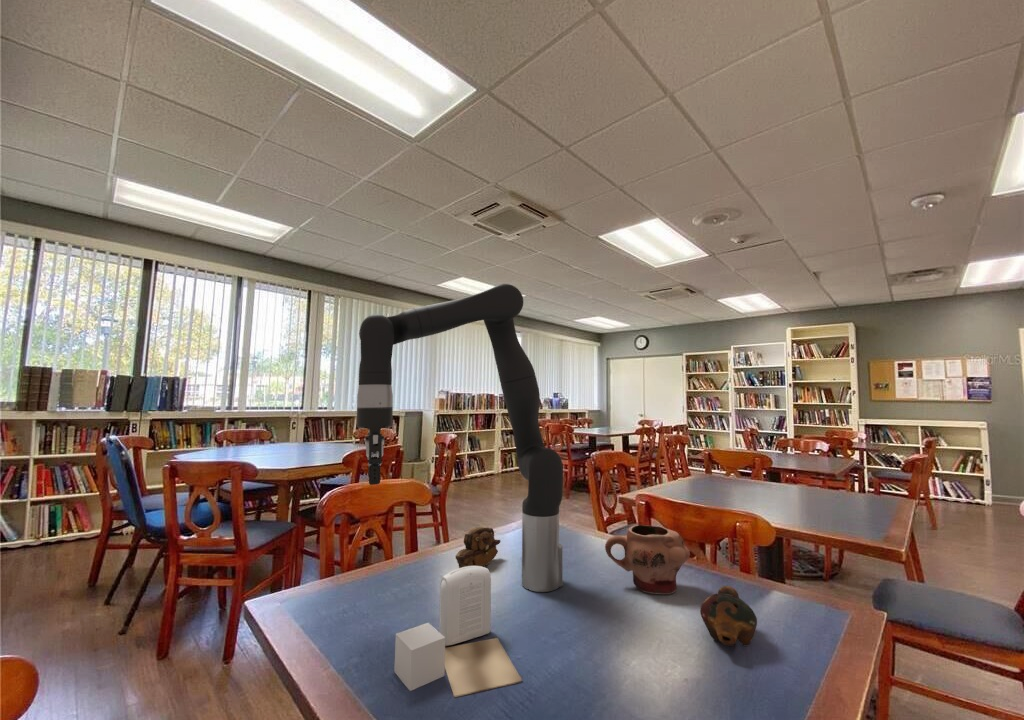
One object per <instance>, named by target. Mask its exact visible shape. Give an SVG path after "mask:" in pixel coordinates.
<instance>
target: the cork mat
mask: <svg viewBox="0 0 1024 720" xmlns="http://www.w3.org/2000/svg"><path fill="white" fill-rule="evenodd" d="M444 671H445V673H446V677H447V679H448V682H449V685H450V688H451V691H452V694H453V695H452V696H453V698H457V697H458V698H459V697H462V696H463V697H464V696H466V695H472V694H475V693H480V692H485V691H488V690H493V689H497V688H502V687H506V686H511V685H514V684H518V683H522V682H523V680H522V677H521V676H520V674H519V673H518V670H517V669H516V667H515V665H514V664H513V662H512V661H511V659H510V657H509V655H508V653H507V652H506V650H505V649H504V647H503V645H502V643H501V642H500V640H499V638H498V637H495V638H489V639H485V640H479V641H473V642H468V643H463V644H458V645H454V646H453V645H451V646H445V666H444Z"/></svg>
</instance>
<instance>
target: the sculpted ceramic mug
mask: <svg viewBox="0 0 1024 720" xmlns="http://www.w3.org/2000/svg"><path fill="white" fill-rule="evenodd" d="M614 545H620V546H622V547H623V549H624V550H623V551H624V557H623V558H622V559H617V558H616V557H615V556H614V555H613V554H612V547H614ZM604 548H605V549H604V550H605V552H606V554H607V557H609V558H610V559H611V560H612V562H614V563H615V564H617V565H618V566H619V567H621V568H622V569H623V570H625V571H626V572H628V573H629V572H631V571H632V582H633V584H634V585H635V587H636V588H637V590H639V591H641V592H643V593H648V594H654V595H670V594H673V593H675V592H676V591H677V574H678V572H679V571H680V569H681V567H682V566H683V565H684V564H685V563H686V562H687V561H688V560H689V558H690V556H691V553H690V549H689V548H688V547H687V546H685V544H684V540H683V538H682V537H681V535H680V533H678V531H675V530H672V529H669V528H666V527H664V526H656V525H645V524H644V525H643V524H635V525H632V526H630V527H629V528H628V530H627V533H626V534H625V535H613V536H611V537H609V538H608V539H607V540H606V542H605V545H604Z"/></svg>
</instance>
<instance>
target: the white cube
mask: <svg viewBox="0 0 1024 720" xmlns="http://www.w3.org/2000/svg"><path fill="white" fill-rule="evenodd" d="M445 648H446V646H445V637H444V636H443V635H442V634H441V633H440V632H439V630H437V629H436V628H435V627H434V626H433V625H432V624H431V623H430V622H426V623H423V624H419V625H418V626H415V627H414V626H413V627H412V628H408V629H406V630H402V631H399V632H396V633H395V644H394V670H393V672H394V673H395V674H396V675H397V677H398V679H400V681H401V682H402V683H403V684H404V686H405V687H406V688H407V689H408V690H409V692H411V691H413V690H417V689H418V688H421V687H422V686H424V685H427V684H429V683H431V682H434V681H436V680H438V679H441V678H443V677H445V667H444V666H445Z"/></svg>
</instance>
